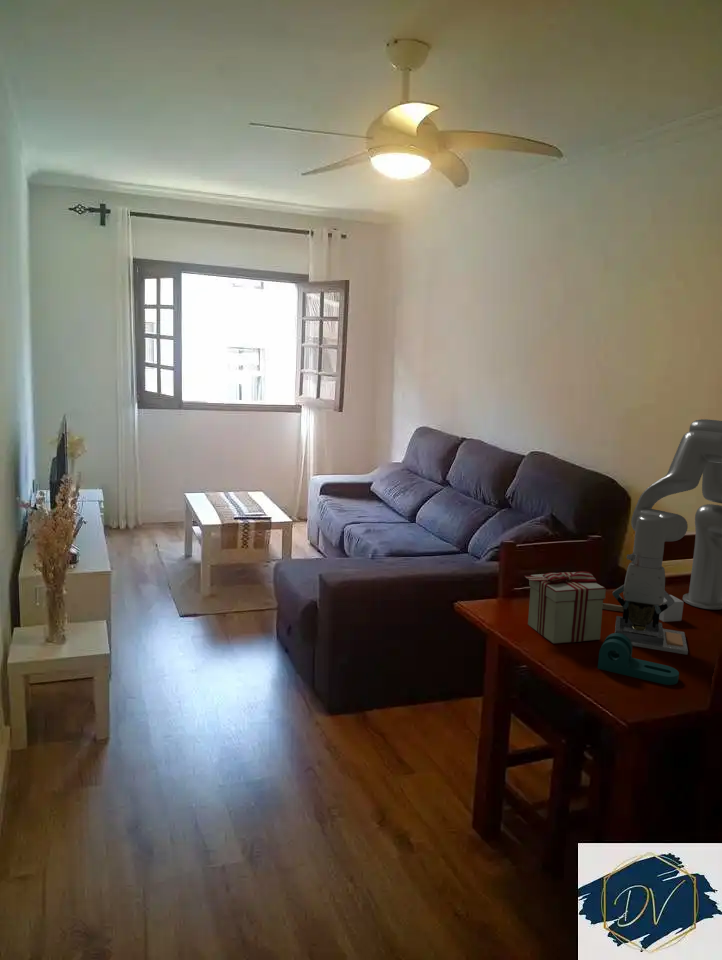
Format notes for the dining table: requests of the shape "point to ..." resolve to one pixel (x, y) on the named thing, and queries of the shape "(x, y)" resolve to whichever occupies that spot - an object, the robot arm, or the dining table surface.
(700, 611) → the dining table surface
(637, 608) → the cup
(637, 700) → the dining table surface
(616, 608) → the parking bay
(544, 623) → the gift box
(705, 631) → the dining table surface
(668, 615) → the white cube
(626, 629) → the grey flat rectangular tray
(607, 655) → the bracket
